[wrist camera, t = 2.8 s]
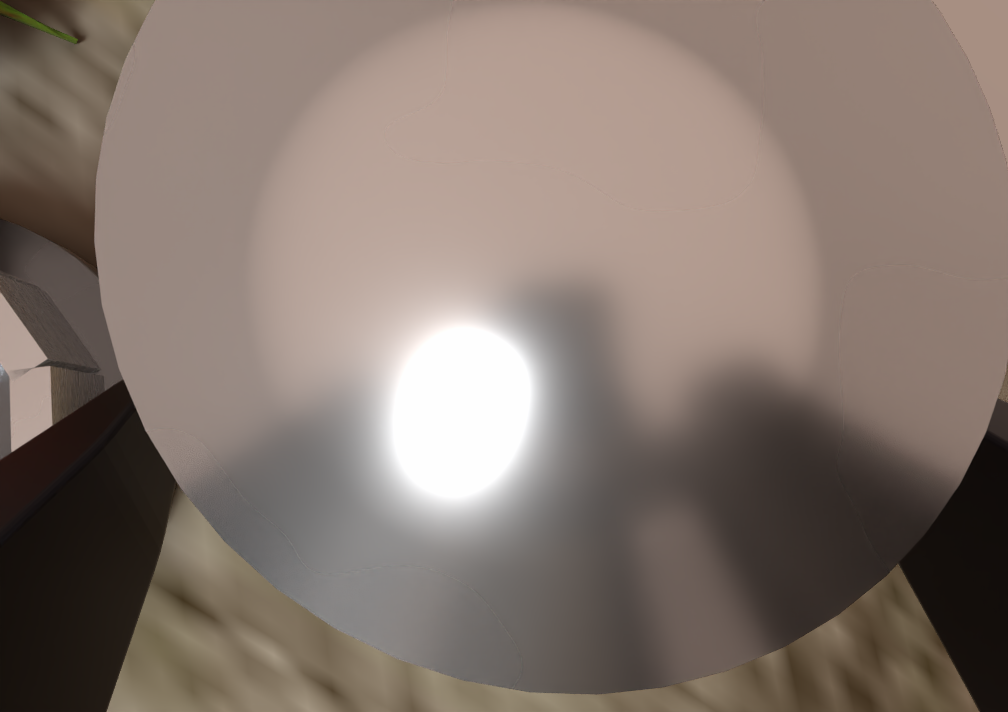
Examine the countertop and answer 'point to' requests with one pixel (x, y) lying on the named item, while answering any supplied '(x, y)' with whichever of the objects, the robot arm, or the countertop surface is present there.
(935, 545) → the robot arm
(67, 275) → the collar
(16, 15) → the pomegranate
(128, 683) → the countertop surface
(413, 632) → the clear drinking glass
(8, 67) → the countertop surface
